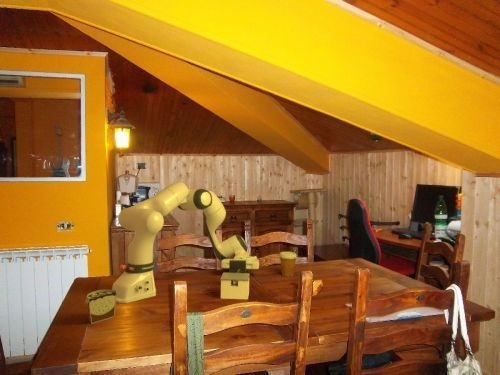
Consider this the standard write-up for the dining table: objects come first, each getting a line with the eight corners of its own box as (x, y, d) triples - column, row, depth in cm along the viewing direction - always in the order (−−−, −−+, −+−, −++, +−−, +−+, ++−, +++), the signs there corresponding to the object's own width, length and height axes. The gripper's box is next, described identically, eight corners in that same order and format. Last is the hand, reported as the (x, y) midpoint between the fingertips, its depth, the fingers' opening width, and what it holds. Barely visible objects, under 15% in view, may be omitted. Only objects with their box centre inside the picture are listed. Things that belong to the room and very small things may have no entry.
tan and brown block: (109, 311, 155) (109, 287, 154) (117, 315, 151) (117, 290, 150) (79, 320, 145) (78, 294, 145) (87, 325, 141) (87, 298, 141)
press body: (223, 291, 183) (223, 272, 182) (249, 292, 182) (249, 273, 182) (220, 298, 172) (220, 278, 172) (248, 299, 172) (248, 279, 171)
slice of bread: (308, 297, 177) (308, 289, 177) (286, 286, 192) (286, 279, 192) (338, 291, 186) (338, 284, 185) (314, 281, 201) (314, 274, 201)
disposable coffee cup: (297, 277, 207) (297, 255, 206) (279, 277, 207) (279, 255, 207) (295, 273, 216) (296, 251, 216) (278, 272, 217) (278, 251, 216)
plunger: (229, 282, 190) (229, 259, 190) (245, 282, 190) (246, 260, 190) (225, 293, 174) (225, 268, 173) (243, 293, 173) (243, 269, 173)
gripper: (222, 255, 214) (219, 261, 201) (259, 256, 213) (258, 262, 200) (222, 266, 215) (218, 273, 201) (259, 267, 214) (258, 274, 200)
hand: (239, 267), depth 200 cm, fingers closed
